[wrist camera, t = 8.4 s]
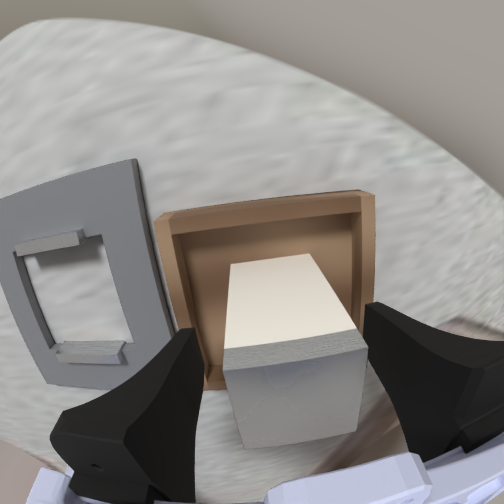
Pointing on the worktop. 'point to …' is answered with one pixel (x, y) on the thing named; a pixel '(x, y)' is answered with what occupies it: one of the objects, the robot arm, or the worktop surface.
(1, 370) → the worktop surface
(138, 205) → the frame
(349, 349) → the block
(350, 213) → the tray
